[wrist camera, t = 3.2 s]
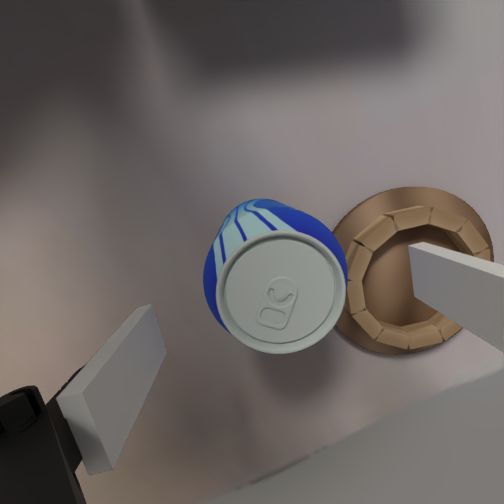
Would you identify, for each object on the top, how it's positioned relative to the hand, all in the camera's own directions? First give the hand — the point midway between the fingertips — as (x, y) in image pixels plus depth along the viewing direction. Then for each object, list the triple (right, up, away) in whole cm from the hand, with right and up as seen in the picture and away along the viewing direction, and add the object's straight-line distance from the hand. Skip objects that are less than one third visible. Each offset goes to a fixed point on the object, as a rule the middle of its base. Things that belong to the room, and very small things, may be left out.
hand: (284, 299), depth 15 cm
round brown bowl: (+15, 0, +17) cm, 22 cm away
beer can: (-1, +4, +16) cm, 16 cm away
